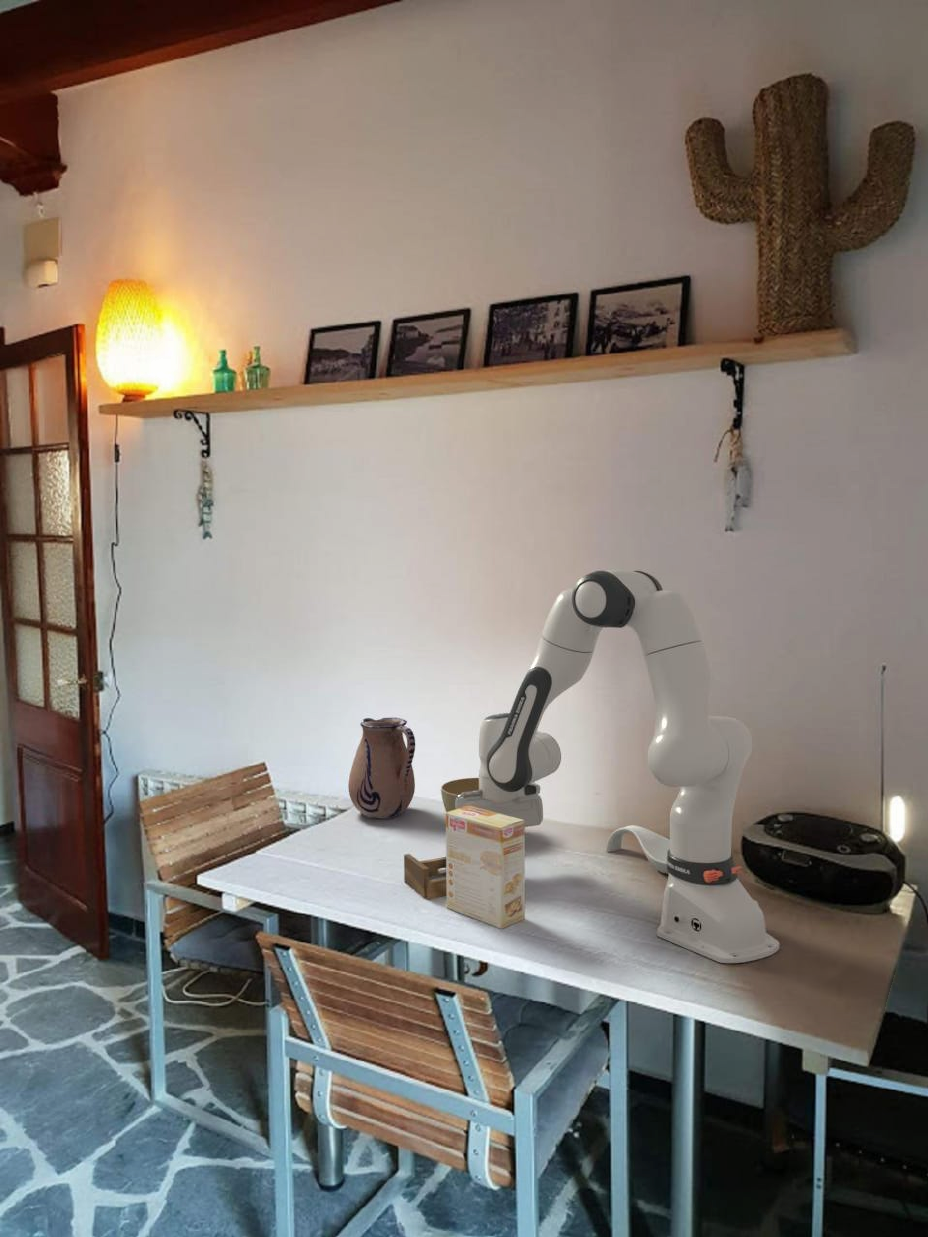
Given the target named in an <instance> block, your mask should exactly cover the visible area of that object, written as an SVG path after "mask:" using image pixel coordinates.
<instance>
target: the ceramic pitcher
mask: <svg viewBox="0 0 928 1237" xmlns="http://www.w3.org/2000/svg"><path fill="white" fill-rule="evenodd" d="M407 723H408V721H407V720H406V719H403V718H400V717H382V718H381V719H374V718H371V717H368V718H363V719H362V722H360V724H359V725H360V727H361V728H362V735H361V736H362V737H361V739H360V742H359V744H358V746H357V749H356V753H355V756H354V758H353V761H352V765H351V768H350V772H349V778H348V786H347V787H348V795H349V799H350V800H351V802H352V805H353V806H354V807H355V809H356V810H357V811H358V812H359V813H361V814H362V815H364V816H365V817H367V818H369V819H375V818H376V819H377V818H379V819H385V820H386V819H391V818H394V817H398V816H399V815H401V814H402V813H404V812H405V811H406V810H407V809H408V808H409V806H410V804H411V803H412V801H413V798H414V794H415V792H416V791H415V789H416V784H415V783H416V782H415V773H414V769H413V768H414V767H413V765H412V763H413V759H414V757H415V751H416V738H415V737H416V736H415V734H414V732H413V731H412V729H411V728H409V726H408V727H407V726H406V725H407ZM404 735H405V738H406V743H405V740H404ZM406 744H407V745H406Z"/></svg>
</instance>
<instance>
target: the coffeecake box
mask: <svg viewBox="0 0 928 1237" xmlns="http://www.w3.org/2000/svg"><path fill="white" fill-rule="evenodd" d="M524 824H525V820H522V819H518V818H515V817H510V816H506V815H503V814H499V813H495V812H491V811H488V810H484V809H480V808H476V807H472V806H466V807H462V808H459V809H456V810H452V811H449V812H446V811H445V853H446V854H445V857H446V875H445V876H446V884H447V896H446V909H449V910H451V911H455V912H457V913H459V914H462V915H465V916H467V917H470V918H473V919H475V920H478V921H480V922H483V923H485V924H488V925H491V926H493V927H495V928H499V929H501V930H503V929H504V928H506V927H508V926H511V925H514V924H516V923H518V922H520V921H523V920H526V916H525V915H526V913H525V912H526V909H525V908H526V906H525V904H526V899H525V897H526V896H525V894H526V892H525V891H526V890H525V889H526V887H525V886H526V885H525V884H526V882H525V881H526V880H525V877H526V876H525V872H526V871H525V869H526V866H525V865H526V864H525V858H526V855H525V851H526V850H525V848H526V847H525V846H526V845H525V843H526V842H525V841H526V839H525V833H526V832H525V831H526V830H525V829H526V828H525V827H524Z"/></svg>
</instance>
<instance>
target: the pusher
mask: <svg viewBox="0 0 928 1237" xmlns="http://www.w3.org/2000/svg"><path fill="white" fill-rule="evenodd" d="M438 873H439V874H441V873H446V868H441V869H438Z"/></svg>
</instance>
